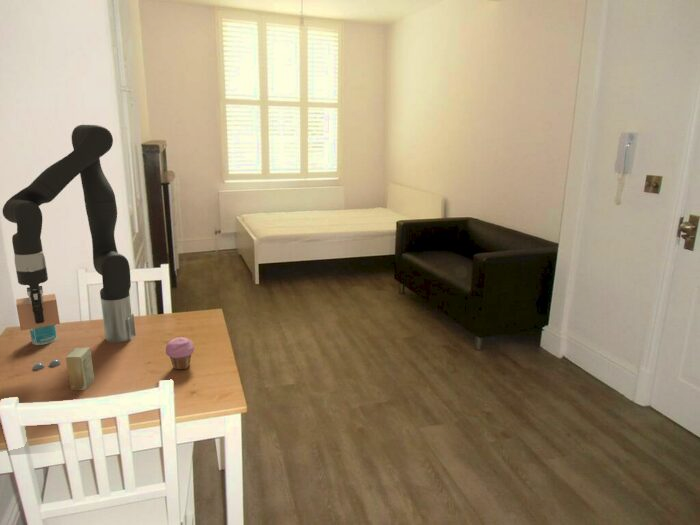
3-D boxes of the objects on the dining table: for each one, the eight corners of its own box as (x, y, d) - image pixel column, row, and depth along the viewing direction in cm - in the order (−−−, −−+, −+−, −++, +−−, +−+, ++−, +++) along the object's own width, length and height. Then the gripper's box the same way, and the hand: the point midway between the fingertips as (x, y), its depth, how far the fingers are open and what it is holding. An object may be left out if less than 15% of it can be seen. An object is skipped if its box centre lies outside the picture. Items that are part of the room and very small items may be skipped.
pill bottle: (62, 340, 170) (56, 305, 167) (47, 349, 163) (41, 313, 160) (42, 338, 171) (37, 303, 167) (27, 347, 164) (21, 311, 160)
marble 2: (62, 366, 153) (61, 357, 152) (58, 370, 150) (57, 362, 149) (52, 366, 152) (51, 358, 151) (48, 371, 149) (47, 362, 148)
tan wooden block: (58, 317, 151) (54, 293, 148) (59, 323, 146) (56, 299, 144) (20, 323, 145) (16, 299, 143) (20, 330, 140) (16, 305, 138)
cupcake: (193, 372, 151) (191, 344, 148) (164, 374, 150) (162, 345, 147) (197, 359, 159) (195, 332, 157) (170, 361, 158) (168, 333, 155)
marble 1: (46, 369, 150) (45, 360, 149) (42, 374, 147) (41, 365, 147) (36, 369, 150) (35, 361, 149) (31, 374, 147) (30, 365, 146)
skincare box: (80, 383, 143) (75, 346, 139) (95, 383, 143) (90, 346, 140) (70, 395, 137) (64, 356, 133) (86, 394, 137) (80, 356, 134)
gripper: (15, 262, 144) (24, 313, 149) (15, 275, 133) (25, 330, 137) (44, 259, 148) (52, 309, 153) (47, 271, 137) (55, 324, 141)
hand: (39, 318), depth 145 cm, fingers closed on tan wooden block, 6 cm apart
